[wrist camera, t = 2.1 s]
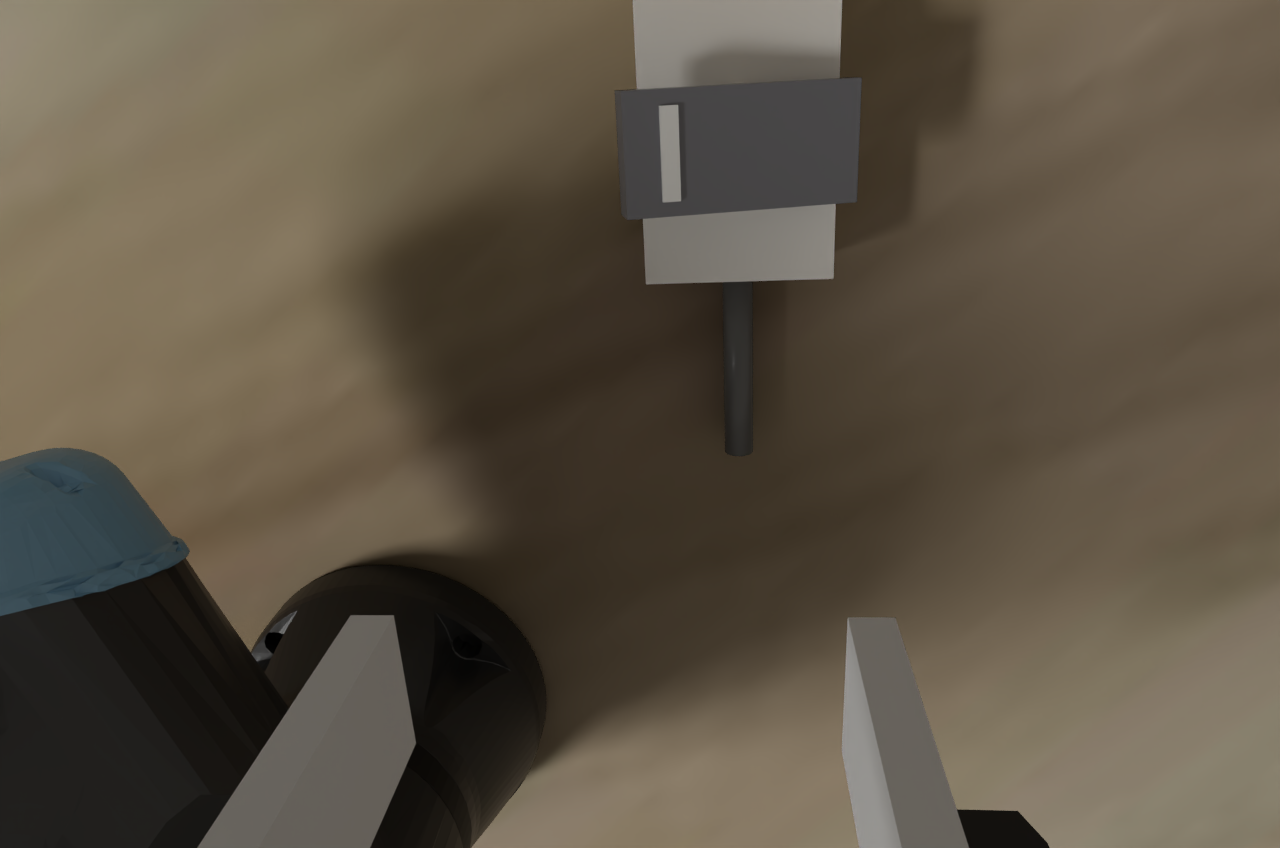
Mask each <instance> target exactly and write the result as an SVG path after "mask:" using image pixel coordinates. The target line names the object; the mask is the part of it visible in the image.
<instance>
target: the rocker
mask: <svg viewBox="0 0 1280 848" xmlns="http://www.w3.org/2000/svg"><path fill="white" fill-rule="evenodd" d="M861 84H862V78H858V77H845V78H827V79H810V80H792V81H774V82H756V83H738V84H721V85H703V86H685V87H667V88H649V89H632V90H615V106H616V124H617V142H618V160H619V178H620V197H621V215H622V216H623V217H624V218H626V219H627V220H635V219H648V218H661V217H674V216H686V215H699V214H712V213H725V212H737V211H750V210H763V209H776V208H788V207H801V206H814V205H827V204H840V203H852V202H857V185H858V159H859V134H860V109H861Z"/></svg>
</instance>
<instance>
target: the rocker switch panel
mask: <svg viewBox="0 0 1280 848" xmlns="http://www.w3.org/2000/svg"><path fill="white" fill-rule="evenodd" d="M633 18H634V40H635V61H636V83H637V89H649V88H667V87H685V86H703V85H721V84H738V83H756V82H774V81H792V80H810V79H827V78H840V52H841V20H842V0H633ZM835 212H836V204H827V205H814V206H801V207H788V208H776V209H763V210H750V211H737V212H725V213H712V214H699V215H686V216H674V217H661V218H648V219H643V233H644V255H645V276H646V284H675V283H709V282H723V346H724V414H725V452H726V453H727V454H729V455H732V456H745V455H749V454H751V453H752V452H753V286H752V281H777V280H810V279H833V276H834V244H835Z"/></svg>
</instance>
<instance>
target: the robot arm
mask: <svg viewBox="0 0 1280 848" xmlns="http://www.w3.org/2000/svg"><path fill="white" fill-rule="evenodd" d="M189 552H190V551H189V549H188V547H187V545H186V544H185V542H184V541H183V540H182V539H180V538H177V537H174V536H172V535H171V534H170V533H169V532H168V530H167V529H166V528H165V526H164V525H163V524H162V523H161V521H160V520H159V519H158V517H157V516H156V515H155V513H154V512H153V511H152V510H151V508H150V507H149V506H148V504H147V503H146V502H145V501H144V499H143V498H142V497H141V495H140V494H139V493H138V491H137V490H136V489H135V488H134V486H133V485H132V484H131V482H130V481H129V480H128V479H127V477H126V476H125V475H124V473H123V472H122V471H121V470H120V469H119V468H118V467H117V466H115V465H114V464H113V463H111V462H110V461H109V460H107V459H105V458H104V457H102V456H99V455H97V454H95V453H92V452H88V451H85V450H81V449H73V448H52V449H46V450H40V451H36V452H32V453H28V454H25V455H21V456H18V457H15V458H11V459H8V460H5V461H1V462H0V848H471V847H472V846H473V845H474V844H475V842H476V841H477V840H478V839H479V837H480V836H481V835H482V834H483V832H484V831H485V830H486V829H487V828H488V826H489V825H490V824H491V822H492V821H493V820H494V819H495V817H496V816H497V815H498V813H499V812H500V811H501V810H502V808H503V807H504V806H505V804H506V803H507V802H508V800H509V799H510V798H511V797H512V796H513V795H514V793H515V792H516V791H517V790H518V788H519V787H520V786H521V784H522V783H523V781H524V780H525V778H526V776H527V774H528V772H529V770H530V768H531V766H532V764H533V761H534V759H535V756H536V752H537V749H538V745H539V741H540V738H541V734H542V730H543V726H544V721H545V715H546V691H545V684H544V680H543V676H542V672H541V669H540V666H539V664H538V661H537V659H536V657H535V655H534V653H533V651H532V649H531V647H530V646H529V644H528V642H527V641H526V639H525V638H524V636H523V635H522V634H521V632H520V631H519V630H518V629H517V627H516V626H515V625H514V624H513V623H512V622H511V621H510V620H509V618H508V617H507V616H506V615H505V614H503V613H502V612H501V611H500V610H499V609H498V608H497V607H496V606H494V605H493V604H492V603H490V602H489V601H488V600H487V599H485V598H484V597H482V596H481V595H479V594H478V593H476V592H474V591H473V590H471V589H469V588H467V587H466V586H464V585H462V584H460V583H458V582H455V581H453V580H451V579H448V578H446V577H443V576H440V575H438V574H434V573H431V572H428V571H424V570H420V569H415V568H409V567H403V566H393V565H369V566H359V567H354V568H348V569H344V570H340V571H337V572H334V573H331V574H328V575H326V576H323V577H321V578H319V579H317V580H315V581H313V582H311V583H309V584H308V585H306V586H305V587H303V588H302V589H300V590H299V591H298V592H297V593H295V594H294V595H293V596H292V597H291V598H290V599H289V600H288V601H287V602H286V603H285V604H284V605H283V606H282V607H281V609H280V610H279V611H278V613H277V614H276V615H275V616H274V618H273V619H272V620H271V621H270V623H269V624H268V625H267V626H266V628H265V629H264V630H263V632H262V633H261V635H260V636H259V638H258V639H257V641H256V643H255V645H254V647H253V649H252V651H251V653H250V651H249V650H248V648H247V647H246V645H245V644H244V642H243V641H242V640H241V638H240V637H239V635H238V634H237V632H236V631H235V629H234V628H233V627H232V625H231V624H230V622H229V621H228V619H227V618H226V617H225V615H224V614H223V612H222V611H221V609H220V608H219V606H218V605H217V604H216V602H215V601H214V599H213V598H212V596H211V595H210V593H209V592H208V591H207V589H206V588H205V586H204V585H203V583H202V582H201V580H200V579H199V577H198V576H197V574H196V573H195V571H194V570H193V568H192V567H191V565H190V564H189V562H188V561H187V559H186V557H187V556H188V554H189ZM842 754H843V760H844V765H845V771H846V776H847V782H848V787H849V793H850V798H851V804H852V810H853V815H854V821H855V826H856V832H857V837H858V843H859V848H1049V846H1048V843H1047V842H1046V841H1045V840H1044V839H1043V838H1042V837H1041V836H1040V835H1039V833H1038V832H1037V831H1036V830H1035V829H1034V828H1033V827H1032V826H1031V825H1030V824H1029V823H1028V822H1027V821H1026V819H1025V818H1024V817H1023V816H1022V815H1021V814H1020V813H1019V812H1018V811H994V810H957V809H956V806H955V802H954V799H953V796H952V793H951V790H950V787H949V784H948V781H947V777H946V774H945V771H944V768H943V765H942V762H941V759H940V756H939V752H938V749H937V746H936V743H935V740H934V737H933V734H932V731H931V727H930V724H929V721H928V718H927V715H926V712H925V709H924V706H923V702H922V699H921V696H920V693H919V690H918V687H917V684H916V681H915V677H914V674H913V671H912V668H911V665H910V662H909V659H908V656H907V652H906V649H905V646H904V643H903V640H902V637H901V634H900V631H899V627H898V624H897V621H896V618H887V617H848V622H847V645H846V668H845V690H844V713H843V736H842Z"/></svg>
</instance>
